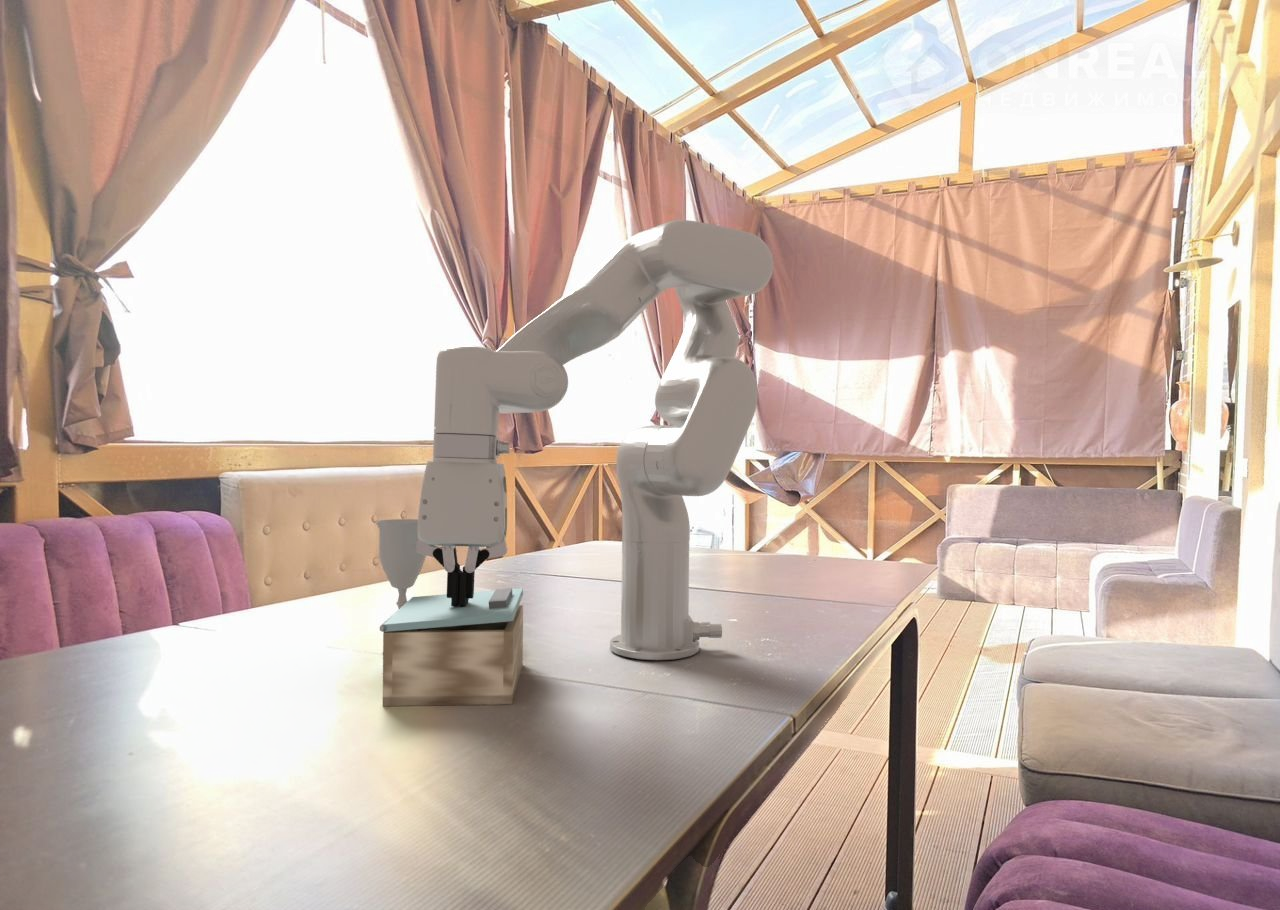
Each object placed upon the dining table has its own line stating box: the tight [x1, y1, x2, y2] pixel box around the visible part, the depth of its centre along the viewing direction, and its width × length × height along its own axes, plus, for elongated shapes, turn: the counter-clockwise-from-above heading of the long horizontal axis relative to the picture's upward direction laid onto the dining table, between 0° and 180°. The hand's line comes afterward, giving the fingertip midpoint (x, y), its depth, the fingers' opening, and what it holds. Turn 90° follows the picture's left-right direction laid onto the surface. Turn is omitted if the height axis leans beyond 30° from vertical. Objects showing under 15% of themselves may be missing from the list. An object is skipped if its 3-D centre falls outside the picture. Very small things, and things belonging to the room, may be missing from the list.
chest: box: [382, 602, 524, 707], centre depth 94 cm, size 14×16×8 cm
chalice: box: [375, 518, 427, 610], centre depth 108 cm, size 7×7×18 cm
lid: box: [379, 587, 524, 633], centre depth 94 cm, size 14×16×2 cm
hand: (459, 604), depth 94 cm, fingers closed
